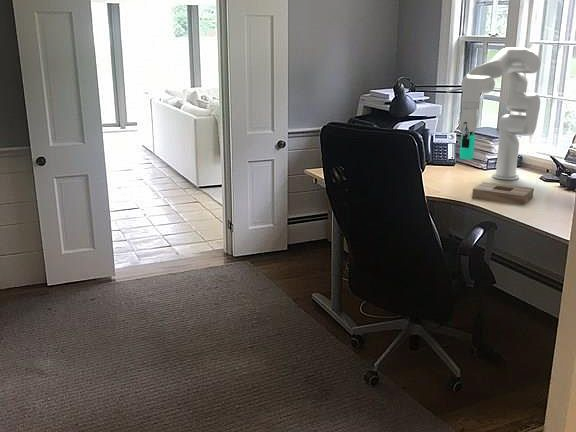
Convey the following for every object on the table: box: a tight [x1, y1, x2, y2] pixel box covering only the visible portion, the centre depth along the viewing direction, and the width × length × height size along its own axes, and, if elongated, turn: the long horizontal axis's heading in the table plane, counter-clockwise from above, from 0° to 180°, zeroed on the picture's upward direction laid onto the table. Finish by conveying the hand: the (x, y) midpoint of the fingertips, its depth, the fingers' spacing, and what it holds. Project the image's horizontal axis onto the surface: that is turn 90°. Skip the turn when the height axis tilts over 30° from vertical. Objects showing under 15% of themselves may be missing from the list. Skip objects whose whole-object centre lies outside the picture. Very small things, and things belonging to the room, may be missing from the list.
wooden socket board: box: [471, 181, 535, 206], centre depth 270 cm, size 16×22×4 cm
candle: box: [459, 134, 476, 160], centre depth 274 cm, size 6×6×12 cm
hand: (467, 146), depth 274 cm, fingers closed on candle, 4 cm apart
